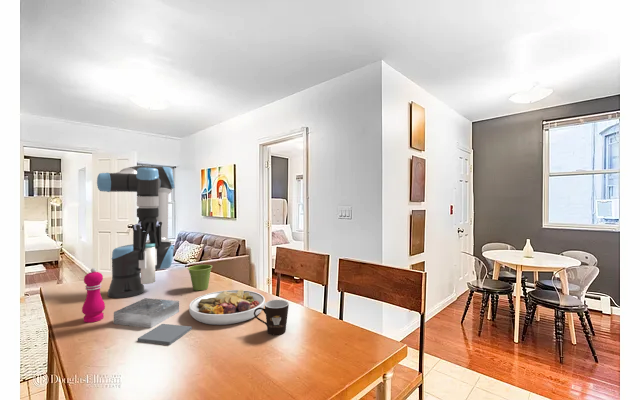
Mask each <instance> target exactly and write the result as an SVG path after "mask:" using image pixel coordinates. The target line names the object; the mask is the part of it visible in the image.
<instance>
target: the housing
mask: <svg viewBox="0 0 640 400" xmlns="http://www.w3.org/2000/svg"><path fill="white" fill-rule="evenodd" d="M179 312H180V301H179V300H172V299H171V300H170V299H160V298H159V299H157V298H145V297H144V298H142V299H140V300H138V301H136V302H133V303H131V304H129V305H127V306H125V307H122V308H120V309H118V310H115V311H113V325H118V324H119V326H128V325H129V327H139V328H148V329H153V327H154V328H155V326H158V325H160V323H161V324H162V322H164V321H166V320H167V319H169V318H171V317H172V316H174V315H176V314H178V313H179Z"/></svg>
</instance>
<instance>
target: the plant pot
mask: <svg viewBox="0 0 640 400" xmlns="http://www.w3.org/2000/svg"><path fill="white" fill-rule="evenodd" d="M212 268H213V265H211V264H197V265H196V264H195V265H192V266H189V267H187V270H188V271H189V275H190V281H191V285H192V289H193V291H196V292H197V291H204V290H205V291H206V290H207V289H209V284H210V283H209V282H210V278H211V271H212Z"/></svg>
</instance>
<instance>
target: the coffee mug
mask: <svg viewBox="0 0 640 400" xmlns="http://www.w3.org/2000/svg"><path fill="white" fill-rule="evenodd" d="M289 305H290V302H289V301H287V300H284V299H272V300H268V301H265V305H264V308H261V307H259V308H256V309H255V311H254V316H255V317H254V318H255V319H257V320H258V321H259V322H261V323H262V324H264V325H266V330H267V335H270V336H282V335H284V334H285V333H286V331H287V329H286V328H287V322H288V314H289V313H288V312H289ZM258 309H261V310H262V311H263V312H264V315H265V320H266V321H265V320H263V319H261V318H259V317H258V315H256V314H255V312H256V311H257V310H258Z"/></svg>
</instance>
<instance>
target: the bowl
mask: <svg viewBox="0 0 640 400" xmlns="http://www.w3.org/2000/svg"><path fill="white" fill-rule="evenodd" d="M265 303H266V298H265V296H264V294H263V295H262V294H261V293H259V292H256V291H253V290H244V289H232V290H231V289H230V290H229V289H226V290H219V291H213V292H209V293H207V294H206V293H205V294H203V295H200V296H198V297H196V298H194V299H193V300H191V302H189V305H188V310H189V314H190V316H191V317H192V318H193V319H195V320H196V321H197V322H200V323H202V324H205V325H213V326H225V325H233V324H239V323H242V322H246V321H249V320H251V319H253V318H256V317H255V316H254V311H255V309H256V308H259V307H261V308H264V309H265ZM262 311H263V310H261V309H258V310H257V311H256V312H255V314H256V316H258V315H259V314H260V313H261V312H262Z"/></svg>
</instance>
